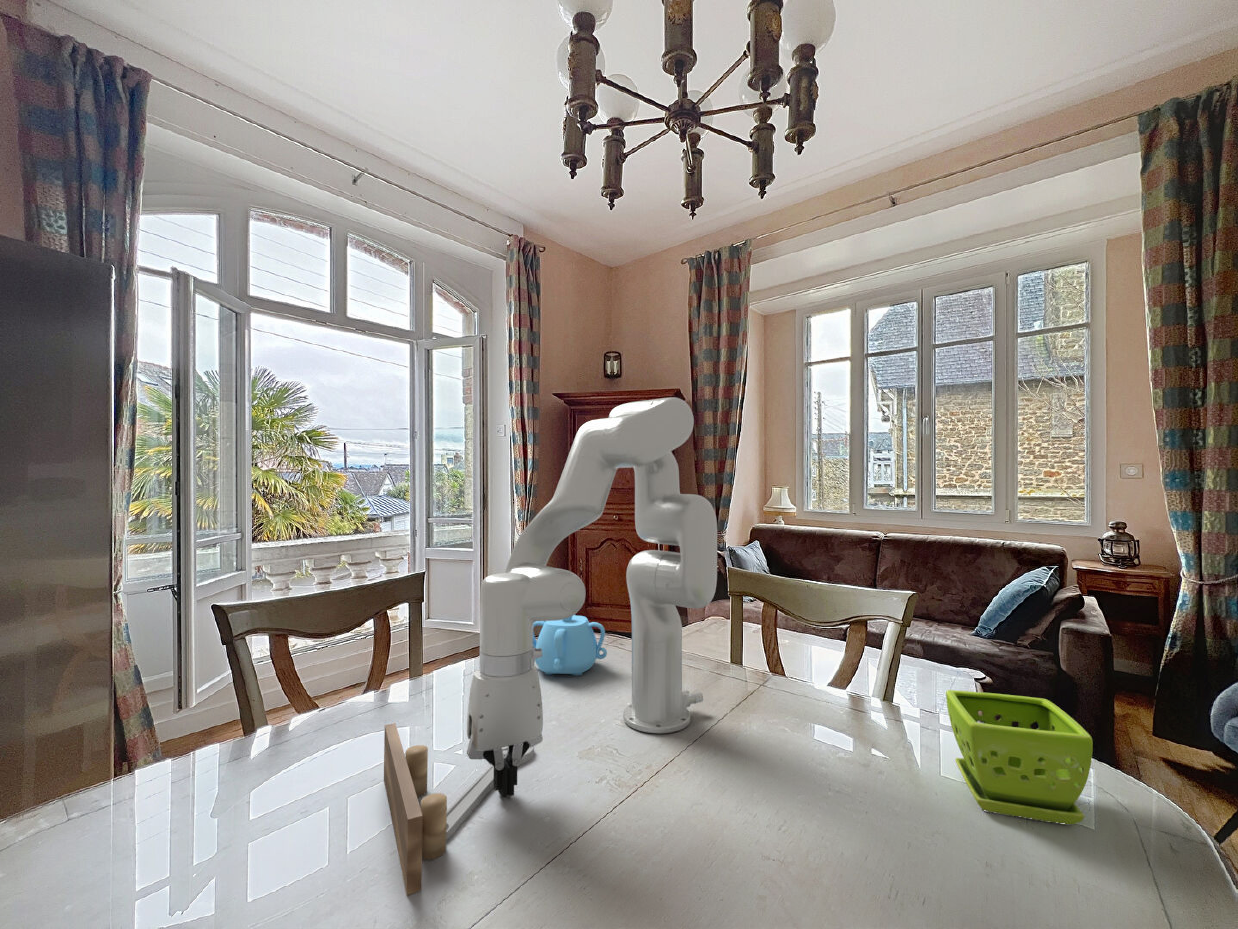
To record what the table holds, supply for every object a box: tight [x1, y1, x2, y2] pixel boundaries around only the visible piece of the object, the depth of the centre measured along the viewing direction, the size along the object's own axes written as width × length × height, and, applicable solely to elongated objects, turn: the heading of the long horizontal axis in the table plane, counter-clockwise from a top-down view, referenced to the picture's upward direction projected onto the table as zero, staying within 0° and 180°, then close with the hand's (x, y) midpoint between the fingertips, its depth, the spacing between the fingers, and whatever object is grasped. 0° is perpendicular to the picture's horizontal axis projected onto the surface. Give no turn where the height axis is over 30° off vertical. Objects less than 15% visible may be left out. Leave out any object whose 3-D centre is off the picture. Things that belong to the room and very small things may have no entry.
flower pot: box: [945, 689, 1094, 826], centre depth 76 cm, size 14×14×13 cm
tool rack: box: [383, 722, 448, 896], centre depth 71 cm, size 5×26×8 cm, turn 29°
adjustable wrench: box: [446, 746, 535, 841], centre depth 79 cm, size 25×6×2 cm, turn 161°
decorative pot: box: [533, 614, 608, 676], centre depth 130 cm, size 16×16×14 cm
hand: (505, 792), depth 77 cm, fingers closed
